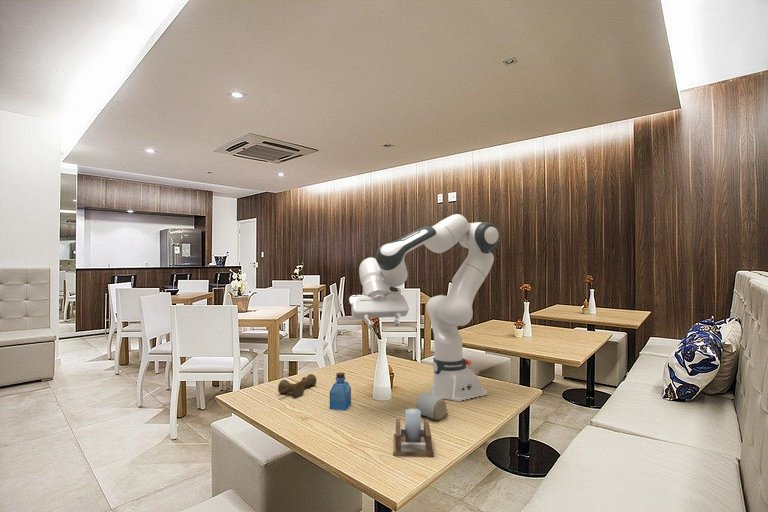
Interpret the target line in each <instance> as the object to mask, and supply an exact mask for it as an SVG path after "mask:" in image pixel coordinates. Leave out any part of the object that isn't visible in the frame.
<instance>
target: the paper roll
mask: <svg viewBox="0 0 768 512" xmlns="http://www.w3.org/2000/svg"><path fill="white" fill-rule="evenodd" d="M421 416H422V415H421V411H420V410H419V409H416V408H411V407H410V408H407V409H405V416H404V417H405V421H404V422H405V424H404V425H405V427H404V428H405V442H416V443H421V428H422V425H421V423H422V419H421V418H422V417H421Z"/></svg>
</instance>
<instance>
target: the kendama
mask: <svg viewBox="0 0 768 512" xmlns="http://www.w3.org/2000/svg"><path fill="white" fill-rule="evenodd" d="M316 384H317V377H316V375H314V374H312V373H309V374H308V375H307V376H304V377H302V378H301V380H300V381H297V382H295V383H290V382H289V381H288V380H287V379H282V380H280V382H279V383H278V386H277V391H278V393H279V394H281V395H284V394H287V393H290V394H293V395H294V397H296V398H300V397H302V396H303V395H304V392H305V388H306V389H307V388H309V387H314V386H316Z"/></svg>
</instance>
